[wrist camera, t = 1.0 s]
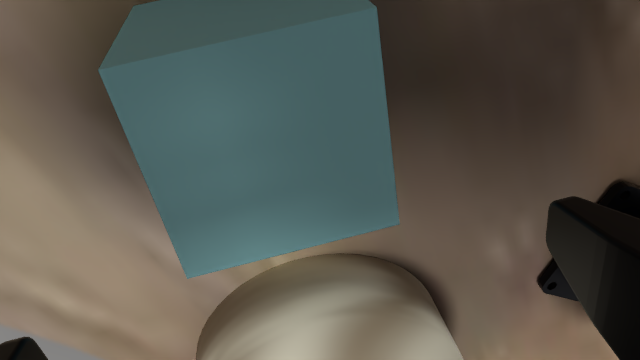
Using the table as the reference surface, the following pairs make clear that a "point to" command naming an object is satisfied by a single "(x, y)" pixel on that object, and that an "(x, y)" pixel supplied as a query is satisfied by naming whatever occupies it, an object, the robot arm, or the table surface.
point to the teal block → (256, 123)
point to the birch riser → (328, 315)
